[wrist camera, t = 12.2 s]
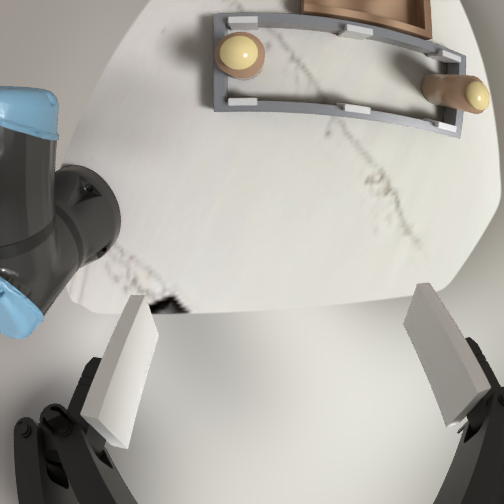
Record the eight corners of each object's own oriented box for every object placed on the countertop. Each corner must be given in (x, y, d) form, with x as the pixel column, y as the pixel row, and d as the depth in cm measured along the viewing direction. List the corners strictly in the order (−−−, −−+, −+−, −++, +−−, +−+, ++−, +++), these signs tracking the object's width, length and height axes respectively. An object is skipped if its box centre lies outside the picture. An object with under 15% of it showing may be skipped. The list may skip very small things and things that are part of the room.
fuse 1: (225, 80, 30) (212, 76, 22) (225, 46, 28) (212, 30, 20) (263, 80, 30) (264, 75, 22) (263, 46, 28) (265, 29, 19)
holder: (217, 110, 32) (212, 112, 29) (217, 19, 26) (212, 11, 23) (448, 134, 32) (464, 140, 28) (453, 56, 26) (470, 56, 22)
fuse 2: (420, 100, 30) (464, 109, 21) (422, 70, 28) (466, 71, 19) (446, 107, 30) (491, 119, 21) (447, 78, 28) (494, 83, 19)
